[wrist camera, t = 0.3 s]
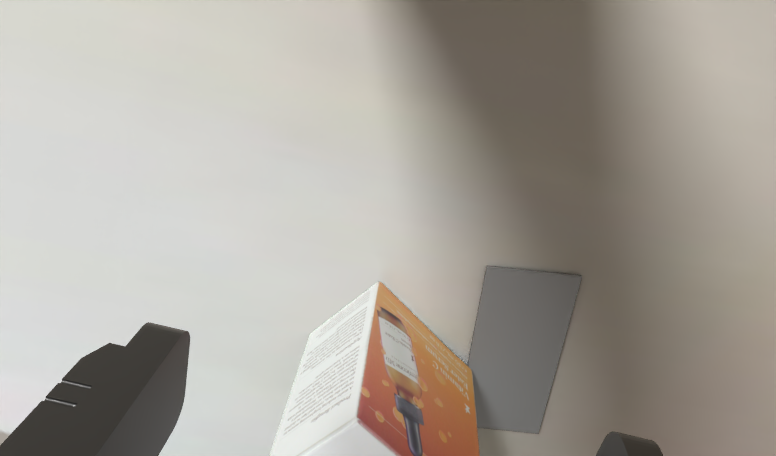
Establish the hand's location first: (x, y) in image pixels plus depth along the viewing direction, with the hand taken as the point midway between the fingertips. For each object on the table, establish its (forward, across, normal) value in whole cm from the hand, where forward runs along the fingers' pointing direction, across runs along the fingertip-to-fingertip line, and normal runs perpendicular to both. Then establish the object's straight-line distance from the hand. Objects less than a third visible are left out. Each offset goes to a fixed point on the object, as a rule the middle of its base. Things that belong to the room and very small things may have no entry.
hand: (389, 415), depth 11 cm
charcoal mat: (+19, -8, +11) cm, 23 cm away
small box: (+19, -1, +12) cm, 22 cm away
